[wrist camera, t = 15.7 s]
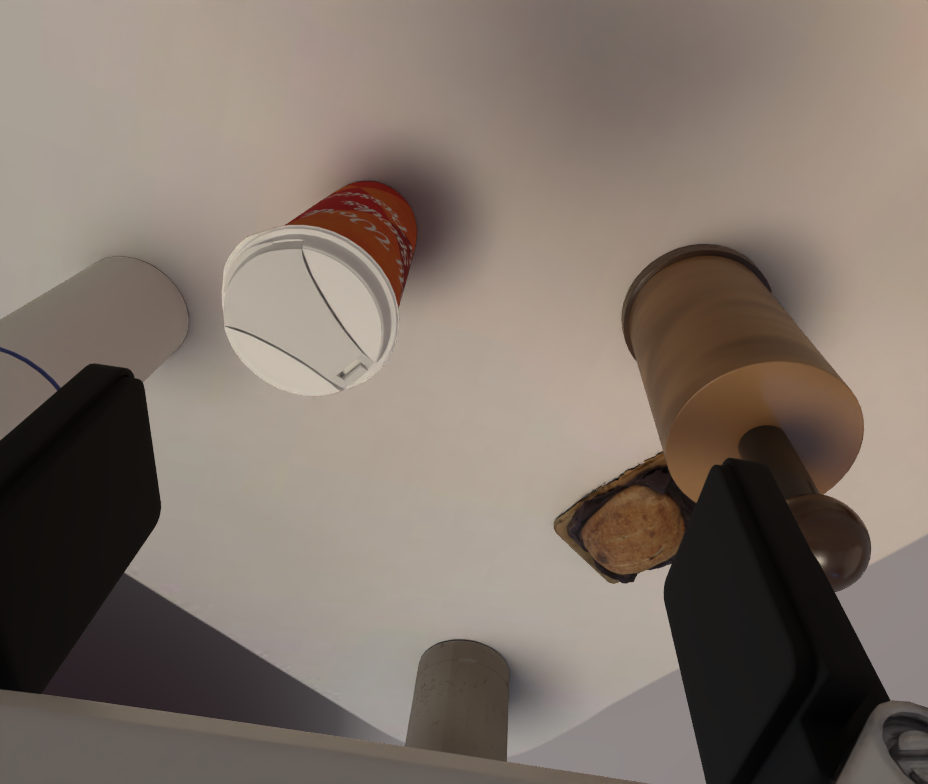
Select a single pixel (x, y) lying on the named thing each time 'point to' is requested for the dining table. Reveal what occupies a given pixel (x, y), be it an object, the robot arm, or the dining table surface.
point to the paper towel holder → (746, 393)
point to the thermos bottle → (461, 701)
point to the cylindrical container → (88, 332)
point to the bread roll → (629, 522)
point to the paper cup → (322, 291)
